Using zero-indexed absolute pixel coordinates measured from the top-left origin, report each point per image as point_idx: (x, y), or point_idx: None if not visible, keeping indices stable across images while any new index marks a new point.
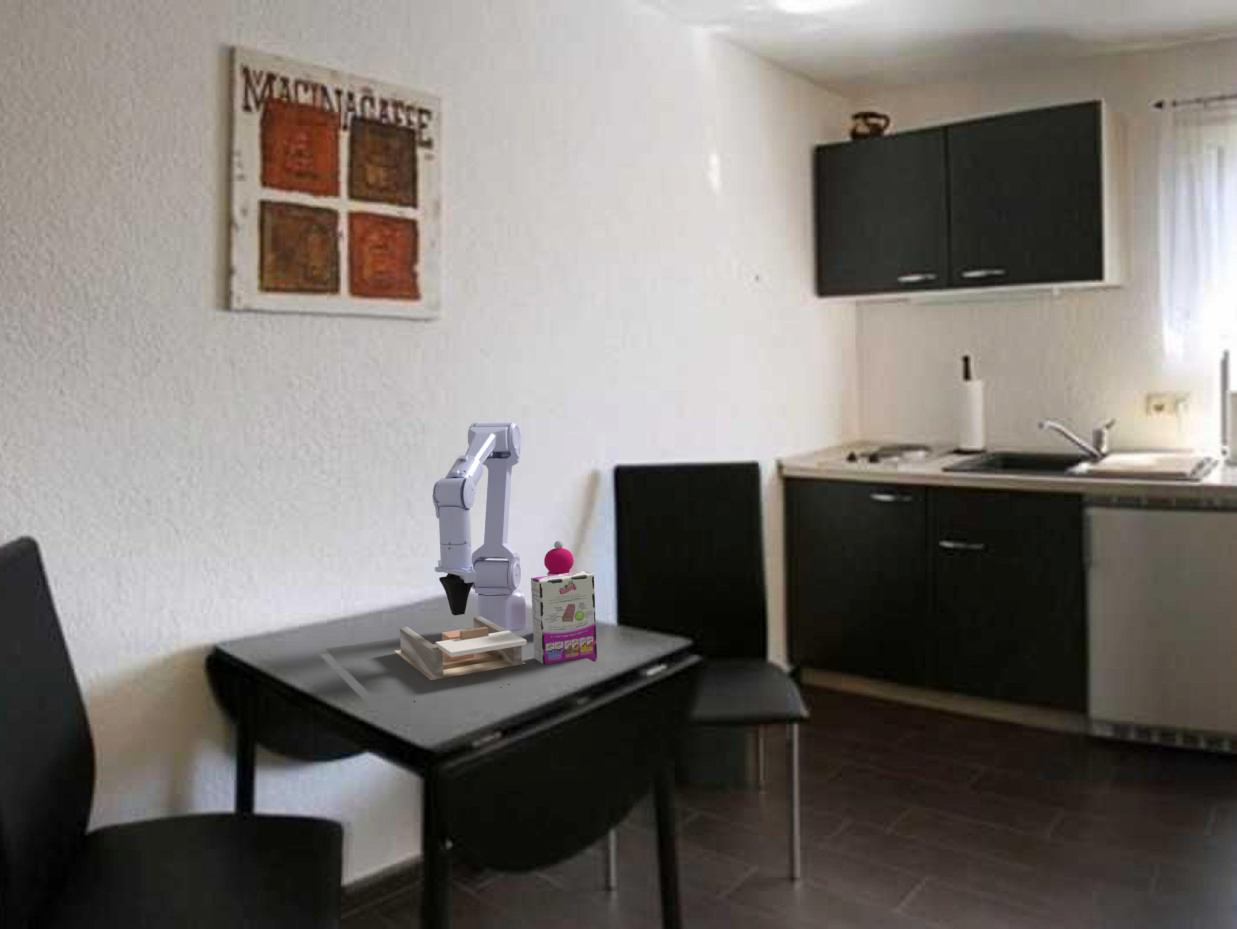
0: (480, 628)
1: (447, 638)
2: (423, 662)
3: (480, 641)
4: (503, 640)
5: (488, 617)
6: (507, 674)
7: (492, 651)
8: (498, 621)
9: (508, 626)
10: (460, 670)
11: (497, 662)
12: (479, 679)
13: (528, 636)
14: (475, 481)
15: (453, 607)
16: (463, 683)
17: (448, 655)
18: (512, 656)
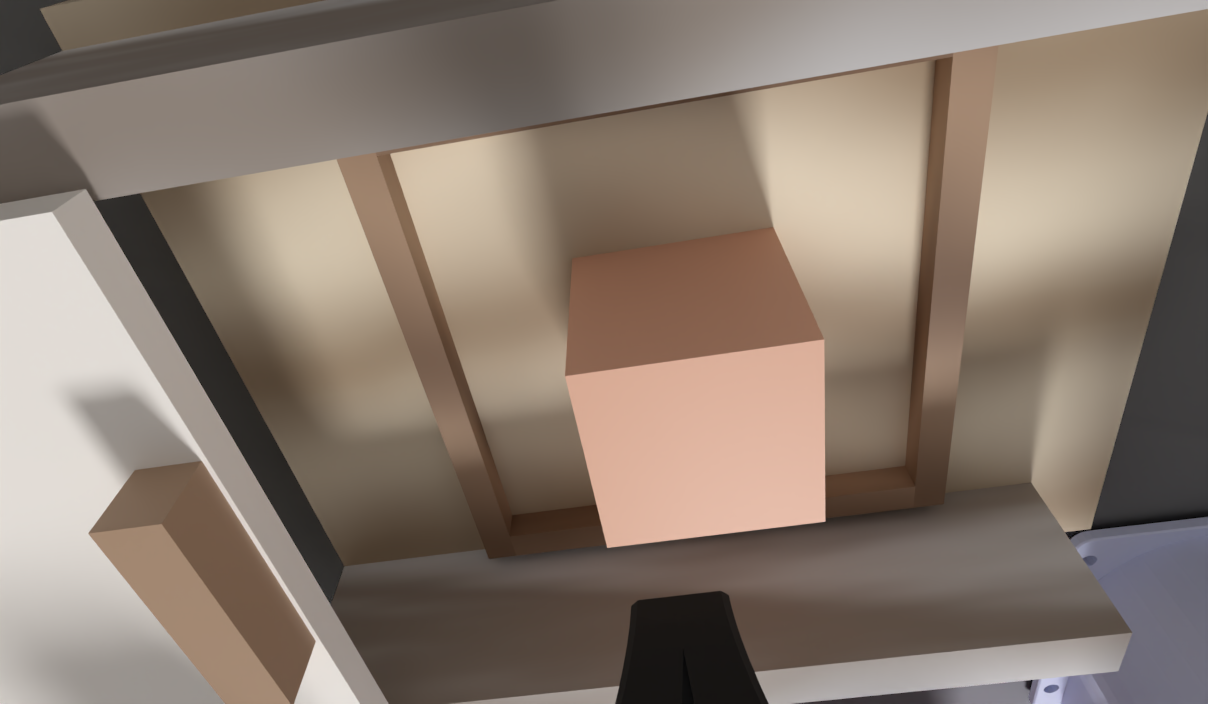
0: (225, 670)
1: (642, 351)
2: (354, 4)
3: (53, 578)
4: (82, 696)
5: (1202, 674)
6: (289, 500)
7: (602, 532)
8: (1129, 685)
9: (1092, 683)
10: (295, 282)
11: (432, 507)
12: (208, 355)
13: (983, 689)
14: None
15: (620, 699)
16: (122, 248)
17: (625, 268)
18: (356, 603)
